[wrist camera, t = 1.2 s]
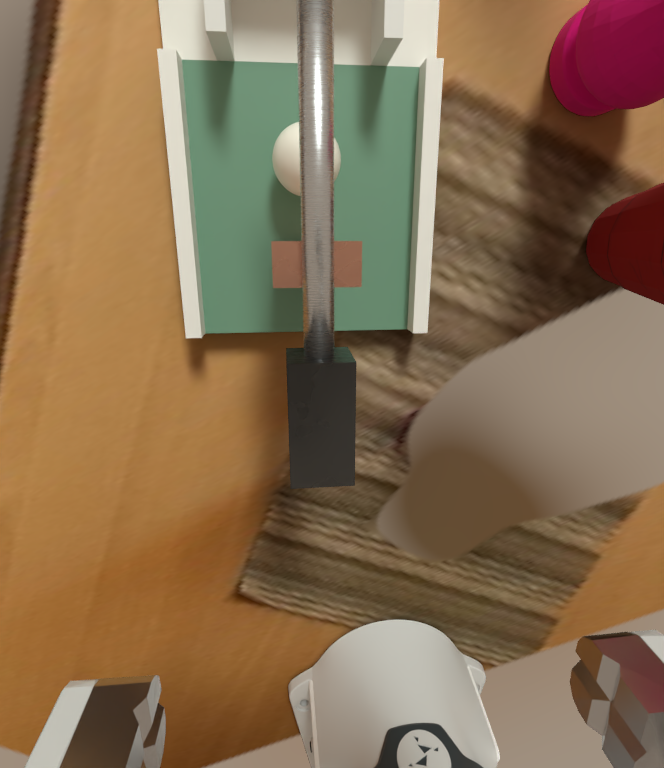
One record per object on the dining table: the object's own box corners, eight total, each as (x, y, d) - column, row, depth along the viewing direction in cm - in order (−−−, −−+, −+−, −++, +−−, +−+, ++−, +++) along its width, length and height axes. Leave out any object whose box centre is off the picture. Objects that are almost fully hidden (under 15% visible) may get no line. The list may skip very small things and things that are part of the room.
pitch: (415, 325, 34) (438, 340, 29) (194, 329, 33) (177, 346, 27) (434, -41, 28) (469, -106, 22) (158, -55, 26) (127, -129, 21)
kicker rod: (338, 401, 33) (365, 484, 22) (281, 403, 33) (279, 489, 21) (338, 25, 26) (378, -136, 15) (267, 22, 26) (253, -145, 15)
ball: (337, 199, 30) (344, 194, 26) (274, 199, 29) (272, 193, 25) (337, 130, 28) (345, 113, 25) (271, 129, 28) (269, 111, 24)
